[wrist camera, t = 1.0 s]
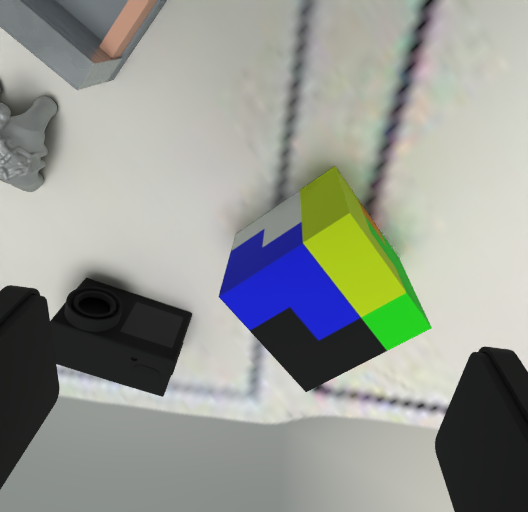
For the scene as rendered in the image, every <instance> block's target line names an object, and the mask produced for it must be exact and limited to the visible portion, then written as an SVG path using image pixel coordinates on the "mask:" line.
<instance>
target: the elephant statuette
mask: <svg viewBox="0 0 528 512" xmlns="http://www.w3.org/2000/svg"><path fill="white" fill-rule="evenodd" d="M0 92H1V89H0ZM56 112H57V106H56V104H55V102H54V101H53V100H52V99H51V98H49V97H46V96H41V97H39V98H37V99H36V100H35V101H34V102H33V104H32V107H31V108H30V109H28V110H27V111H26V112H25V113H23V114H21V115H17V116H12V117H10V115H11V111H10V109H9V108H8V106H6V105H5V104H3V103H0V180H1V181H3V182H6V183H8V184H11V185H12V186H14V187H17V188H19V189H21V190H24V191H27V192H33V191H35V190H37V189H38V188H39V187H40V186H41V185H42V184H43V177H42V176H41V175H40V174H39V173H38V171H39V170H40V169H42V168H44V167H45V162H44V161H43V160H41V159H40V158H41V157H43V156H45V155H47V153H48V151H47V148H46V147H45V145H44V140H45V134H44V131H45V128H46V126H47V124H48V122H49V120H50V118H51V117H52V116H54V115H55V114H56Z"/></svg>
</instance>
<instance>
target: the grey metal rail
mask: <svg viewBox="0 0 528 512" xmlns="http://www.w3.org/2000/svg"><path fill="white" fill-rule="evenodd" d="M56 1H57V2H58V3H60V4H61V5H62V6H63V7H64V8H65V9H66V10H68V11H69V12H70V13H71V14H72V15H73V16H74V17H76V18H77V19H78V20H79V21H80V22H81V23H82V24H84V25H85V26H86V27H87V28H88V29H89V30H90V31H92V32H93V33H94V34H95V35H96V36H97V37H98V38H100V39H101V40H102V43H101V44H100V46H99V47H100V48H101V49H102V50H103V51H105V52H106V53H107V54H108V55H109V56H110V57H111V58H113V57H121V58H122V60H121V61H120V63H119V64H118V66H117V67H116V69H115V70H114V72H113V73H112V75H111V76H110V78H109V79H108V81H110V80H113V79H114V78H115V76H116V75H117V73H118V72H119V70H120V69H121V67H122V66H123V64H124V63H125V61H126V60H127V58H128V57H129V55H130V54H131V52H132V51H133V49H134V48H135V47H136V45H137V44H138V42H139V41H140V39H141V38H142V36H143V35H144V33H145V32H146V30H147V29H148V27H149V26H150V24H151V23H152V21H153V20H154V18H155V17H156V15H157V14H158V12H159V11H160V9H161V8H162V6H163V5H164V3H165V2H166V0H56Z"/></svg>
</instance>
